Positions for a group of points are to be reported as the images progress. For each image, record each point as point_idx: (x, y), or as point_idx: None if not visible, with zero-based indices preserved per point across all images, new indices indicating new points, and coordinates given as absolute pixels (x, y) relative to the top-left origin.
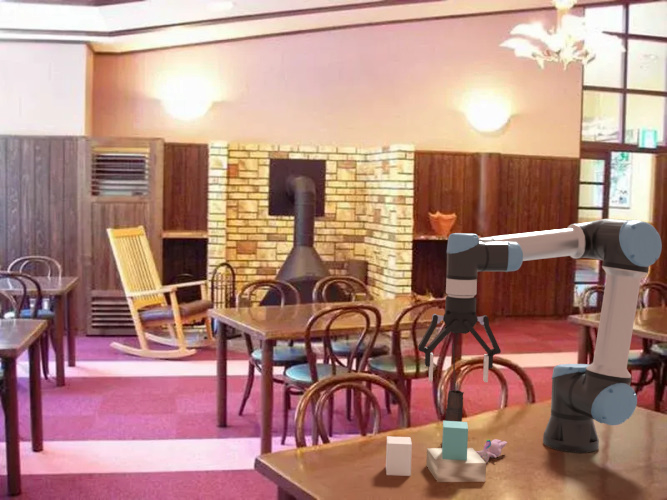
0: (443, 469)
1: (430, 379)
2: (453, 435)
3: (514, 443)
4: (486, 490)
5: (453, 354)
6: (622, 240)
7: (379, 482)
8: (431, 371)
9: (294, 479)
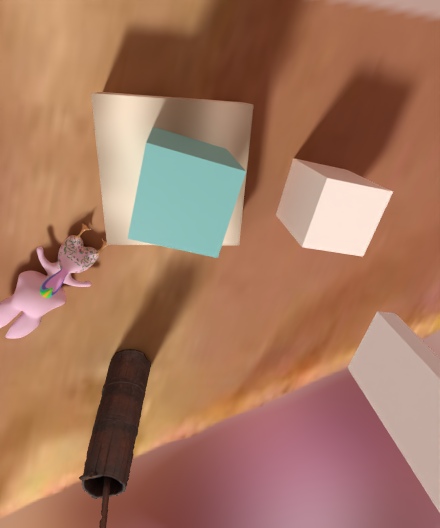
0: (233, 102)
1: (394, 318)
2: (203, 153)
3: None
4: (116, 4)
5: None
6: None
7: (386, 115)
8: (432, 359)
9: None
